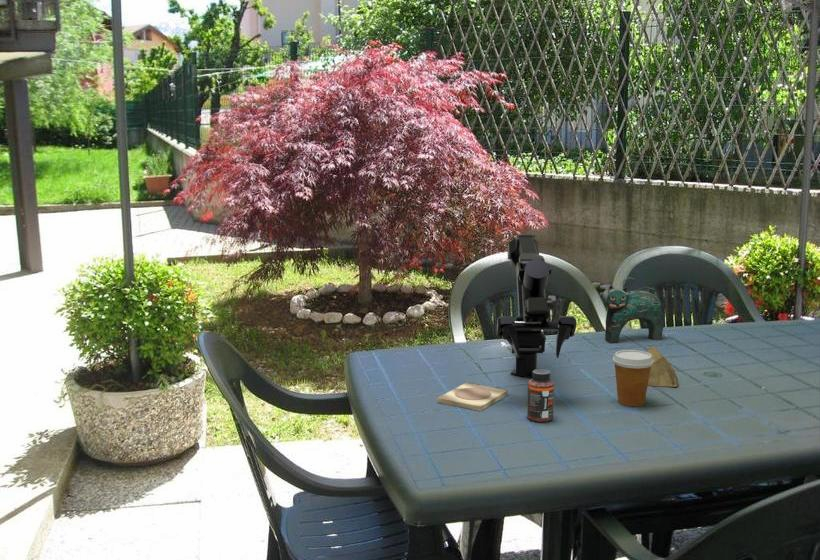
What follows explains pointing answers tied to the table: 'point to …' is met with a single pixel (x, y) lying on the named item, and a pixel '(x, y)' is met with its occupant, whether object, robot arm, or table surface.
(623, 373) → the disposable coffee cup
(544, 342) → the robot arm
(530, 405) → the supplement bottle
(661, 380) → the rock
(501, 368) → the table surface
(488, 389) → the board
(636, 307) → the ceramic cat
